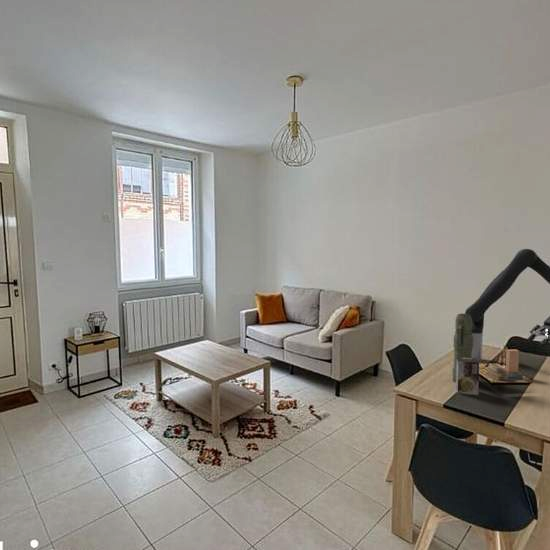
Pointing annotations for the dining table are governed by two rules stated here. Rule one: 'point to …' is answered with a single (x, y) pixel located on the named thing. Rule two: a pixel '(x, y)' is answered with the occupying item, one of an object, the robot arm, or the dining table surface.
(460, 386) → the coffee box
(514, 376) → the rack
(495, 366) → the offcut pile
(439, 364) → the dining table surface
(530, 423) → the dining table surface
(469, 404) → the dining table surface
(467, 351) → the thermos
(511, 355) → the board
